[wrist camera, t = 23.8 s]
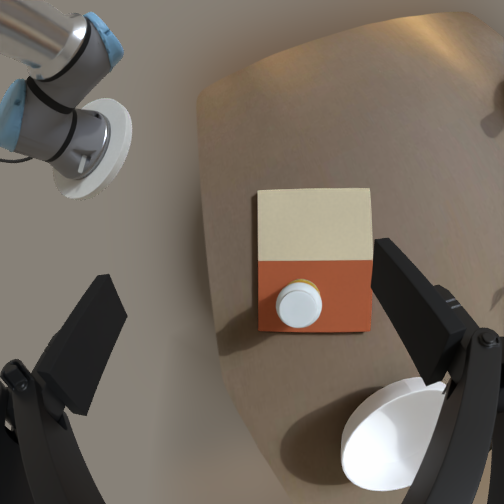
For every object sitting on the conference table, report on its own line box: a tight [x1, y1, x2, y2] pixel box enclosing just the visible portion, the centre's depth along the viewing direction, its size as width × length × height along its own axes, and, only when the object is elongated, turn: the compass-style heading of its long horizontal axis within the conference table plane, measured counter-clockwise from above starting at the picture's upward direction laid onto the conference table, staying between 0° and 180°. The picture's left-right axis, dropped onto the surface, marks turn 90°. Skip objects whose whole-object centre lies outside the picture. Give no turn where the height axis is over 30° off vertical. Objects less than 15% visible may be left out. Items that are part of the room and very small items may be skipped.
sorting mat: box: [258, 188, 373, 332], centre depth 39 cm, size 16×20×1 cm
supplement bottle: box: [276, 279, 322, 328], centre depth 34 cm, size 5×5×10 cm
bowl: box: [341, 377, 446, 491], centre depth 32 cm, size 20×20×8 cm
